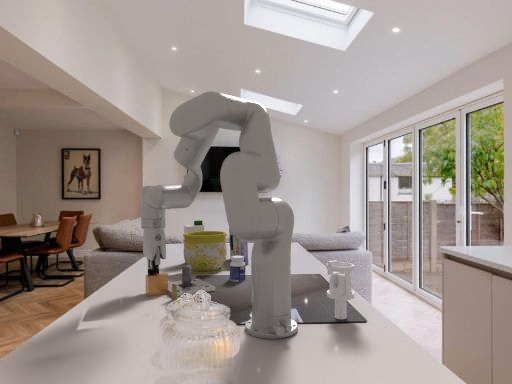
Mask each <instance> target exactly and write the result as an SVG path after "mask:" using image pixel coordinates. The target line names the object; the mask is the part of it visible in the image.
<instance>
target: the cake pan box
mask: <svg viewBox="0 0 512 384" xmlns="http://www.w3.org/2000/svg"><path fill="white" fill-rule="evenodd" d="M228 234H229V248H230V250H229V251H230V252H229V254H230V260H231V256H244V260H243V262H244V263H245V265H249V249H248V248H249V247H248V241H242V240H240V239H238V238H236V237H235V236H234V235H233V233H232V232H231V230H230V228H229V227H228Z"/></svg>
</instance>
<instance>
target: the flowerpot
mask: <svg viewBox="0 0 512 384" xmlns="http://www.w3.org/2000/svg"><path fill="white" fill-rule="evenodd" d="M227 235H228V234H227V232H226V231H220V230H204V231H196V232H187V233H184V232H183V234H182V236H183V238H184V237H185V240H184V239H183V257H184V258H183V259H184V263H185V262H186V263H185V264H186V265H190V266H191V275H198V274H199V275H200V274H210V273H212V274H213V273H221V271H223V267H222V266H223V265H224V264H225V261H226V259H227V254H228V250H227V242H226V241H227V238H226V236H227ZM184 242H185V244H184Z"/></svg>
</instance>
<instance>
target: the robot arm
mask: <svg viewBox="0 0 512 384" xmlns="http://www.w3.org/2000/svg"><path fill="white" fill-rule="evenodd" d="M168 125H169V129H170V132H171V133H172V134H173V135H174V136H175V137H180V140H179V141H178V143H177V145H176V147H175V150H174V151H173V158H174V159H175V161H176V162H177V164H179V165H180V166H182V167H183V168H185V169H187V174H186V176H185V179H184V181H183V183H182V184H156V185H144V186H143V187H142V188H141V191H140V207H141V208H140V217H141V219H140V226H141V227H140V228H141V230H143V235H142V240H143V241H142V254H143V257H145V259H146V260H147V275H150V274H157V273H160V265H161V260H166V258H167V245H166V233H165V229H166V210H172V209H173V210H174V209H187V208H188V207H190V206H191V205H192V204H193V203H194V202H195V200H196V198H197V196H198V195H199V193H200V191H201V189H202V186H203V172H202V168H201V167H202V166H201V165H202V163H203V161H204V159H205V157H206V155H208V154H207V153H208V152H209V150H210V149H211V146H212V144H213V143H214V140H215V139H216V137H217V136H218V135H217V134H218V133H219V130H220V129H223V130H229V131H236V132H240V134H239V137H238V146H239V149H240V151H234V152H232V153H231V154H228V156H226V157H225V159H224V160H223V162H222V165H221V168H220V172H219V173H220V175H219V181H220V186H221V187H220V188H221V193H222V198H223V202H224V203H223V204H224V209H225V210H224V211H225V215H226V221H227V223H228V224H227V225H228V229H229V228H230V230H231V232H232V233H233V235H234V236H235V237H236V238H238V239H240V240H242V241H247V242H252V241H253V245H252V249H251V258H250V260H251V263H250V264H251V265H250V271H251V272H250V273H251V275H250V277H251V279H250V280H251V287H250V288H251V290H250V291H251V318H250V319H248V320H247V321H246V322H245V326H244V327H245V331H246V332H247V333H248V334H249V335H251V336H253V337H256V338H260V339H267V340H268V339H271V340H274V339H283V338H289V337H291V336H294V335H295V334H296V333H297V331H298V330H299V329H298V328H299V327H298V326H299V325H298V322H297V321H295V320H294V319H292V279H291V278H292V277H291V276H292V270H291V269H292V268H291V266H292V260H291V259H292V257H291V256H292V239H293V233H294V227H295V215H294V211H293V208H292V207H291V206H290V204H289V203H288V202H287V201H286V200H284V199H281V198H278V197H259V194H265V193H271V192H273V191H274V190H276V189H277V188H278V187H279V185H280V182H281V174H280V168H279V161H278V157H277V152H276V148H275V143H274V140H273V133H272V126H271V118H270V114H269V112H268V110H267V108H266V107H265V106H264V105H263V104H261V103H259V102H257V101H252V100H248V99H243V98H240V97H237V96H233V95H228V94H226V93H223V92H220V91H214V90H213V91H212V90H211V91H206V92H202V93H201V94H198V95H196V96H195V97H192V98H190V99H188V100H187V101H185V102H183V103H181V104H179V105H178V106H177V107H176V108H175V109H174V110H173V112H172V113H171V116H170V117H169V124H168Z"/></svg>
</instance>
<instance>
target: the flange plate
mask: <svg viewBox="0 0 512 384" xmlns="http://www.w3.org/2000/svg"><path fill="white" fill-rule="evenodd" d="M172 284H177V298H179V296H180V295H183V294H184V293H190V294H192V295H196V294H195V293H196V291H198V290H199V289H204V290H205V291H207V292H206V293H209V292H213V291H214V292H215V291H216V286H215V285H212V284H211V283H208V282H206V281H204V280H202V279H200V278H191V287H187V288H182V280H178V281H172V282H171V281H169V274H168V273H167V272H159V273H157V274H150V275H148V274H145V295H146V296H147V297H154V296H160V295H166V294H168V295H169V296H171V297H172ZM180 297H181V296H180Z"/></svg>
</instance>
